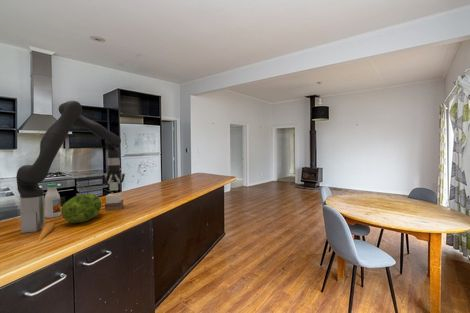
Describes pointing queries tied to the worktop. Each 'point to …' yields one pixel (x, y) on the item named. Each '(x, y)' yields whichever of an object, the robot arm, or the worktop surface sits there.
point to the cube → (113, 186)
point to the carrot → (46, 230)
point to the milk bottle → (52, 202)
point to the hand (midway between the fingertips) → (114, 188)
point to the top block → (114, 198)
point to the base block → (114, 206)
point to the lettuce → (81, 208)
